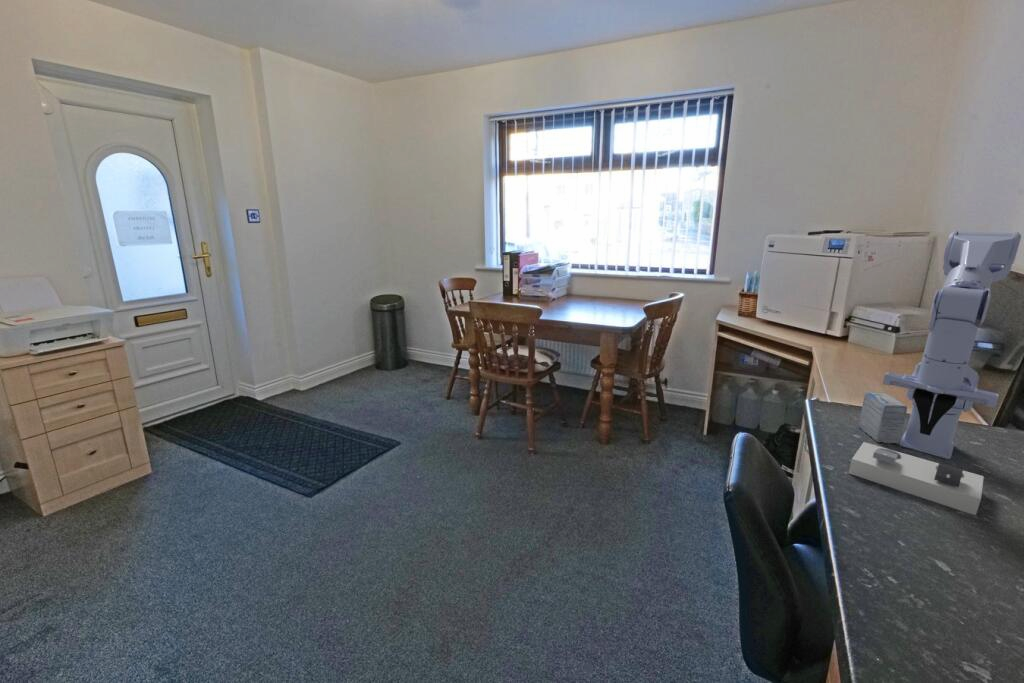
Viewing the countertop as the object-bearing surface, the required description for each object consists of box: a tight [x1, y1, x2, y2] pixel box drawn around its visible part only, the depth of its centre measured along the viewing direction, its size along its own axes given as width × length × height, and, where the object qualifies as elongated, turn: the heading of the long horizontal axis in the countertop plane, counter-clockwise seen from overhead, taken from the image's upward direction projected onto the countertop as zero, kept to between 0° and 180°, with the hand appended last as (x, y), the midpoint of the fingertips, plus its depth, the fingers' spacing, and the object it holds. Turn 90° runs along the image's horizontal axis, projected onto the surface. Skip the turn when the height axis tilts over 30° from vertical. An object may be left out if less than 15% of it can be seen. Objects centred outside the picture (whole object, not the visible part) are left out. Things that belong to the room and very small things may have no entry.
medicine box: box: [857, 392, 908, 445], centre depth 101 cm, size 8×4×9 cm, turn 168°
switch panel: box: [848, 441, 984, 516], centre depth 83 cm, size 10×17×3 cm, turn 44°
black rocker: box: [934, 462, 964, 487], centre depth 78 cm, size 4×3×1 cm
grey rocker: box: [873, 449, 898, 464], centre depth 84 cm, size 4×3×1 cm
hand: (925, 432), depth 82 cm, fingers closed
